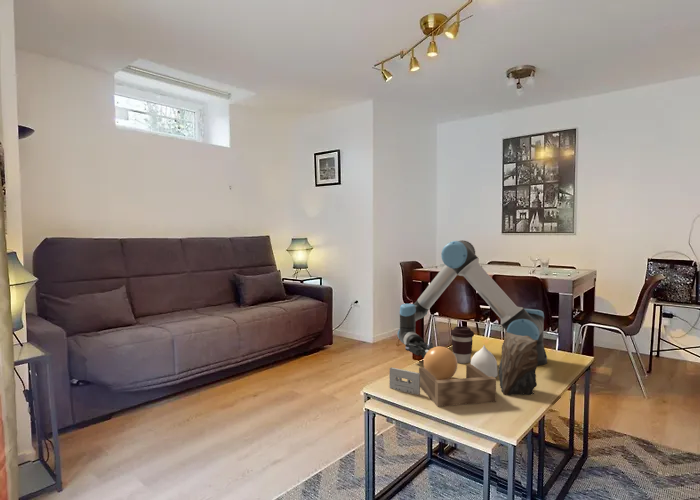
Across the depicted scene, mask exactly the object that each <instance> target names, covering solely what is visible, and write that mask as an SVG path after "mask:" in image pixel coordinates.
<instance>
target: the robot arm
mask: <svg viewBox="0 0 700 500" xmlns="http://www.w3.org/2000/svg"><path fill="white" fill-rule="evenodd" d="M440 257H441V261H442V262H443V264H444V265H443V266H442V268H441V269H440V270H439V272H438V273H437V274H436V275H435V277H434V278H433V279H432V280H431V282H430V283H429V284H428V285H427V286H426V288H425V290H424V291H423V292H422V293H421V294H420V296H419V297H418V298H417V300H416V301H415V302H414V303H402V304H401V305H400V306H399V329H398V331H397V338H398V339H399V341H400V342H401V343H402V344H404V345H405V351H407V352H410V353H412V354H414V355H415V356H419V357H420V356H421V358H423V359H424V357H425V355H426V353H427V352H428V351H429V350H430V349H431V348H434V343H433V342H430V343H427V342H425V340H424V339H423V337H421V336H420V335H419V334H417V333H416V322H417V321H418V320H420V319H423V318H425V317H426V316H427V314H428V312H429V310H430V309H431V308H432V306H433V305H435V302H436V301H438V299H439V298H440V297H441V295H442V294H443V293H444V292H445V291H446V289H447V288H448V287H449V286H450V285H451V283H452V282H453V281H454V280H455V278H456V277H457V276H460V277H463V278H464V279H466V281H467V282H468V283H469V284H470V285H471V286H472V288H473V289H474V290H475V291H476V292H477V293H478V295H479V296H480V297H481V299H483V300H484V301H485V303H486V304H487V305H488V306H489V308H490V309H491V310H492V311H493V312H494V313H495V314H496V316H498V317H499V319H500V325H501V327H502V328H503V329H504V330H505V331H506V332H508V333H512V334H515V335H521V336H530V337H531V338H532V339H534V340H538V343H537V352H538V365H537V366H542V365H543V366H544V365H546V364H548V356H547V353H546V350H545V347H544V328H545V327H544V326H545V325H544V324H545V323H544V320H545V314H544V311H542V310H540V309H533V308H524V307H522V306H517V305H516V304H515V303H514V301H513V300H512V299H511V297H509V296H508V295H507V293H506V292H505V291H504V290H503V289H502V288H501V287H500V286H499V285H498V283H497V282H496V281H495V280H494V279H493V278H492V277H491V275H489V274H488V273H487V271H486V270H485V269H484V268H483V266H481V264H480V263H479V260H480V259H479V256H477V255H476V249H475V247H474V245H473V244H472V243H471V242H469V241H468V240H452V241H450V242H447V244H445V245H444V246H443V248H442V249H441V256H440Z"/></svg>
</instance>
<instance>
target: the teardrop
mask: <svg viewBox="0 0 700 500" xmlns="http://www.w3.org/2000/svg"><path fill="white" fill-rule="evenodd" d="M470 364H472V365H473V366H474V367H476V368H477V369H479V370H480V371H482V372H483V373H484V374H486V375H487V376H489V377H491V376H493V377H494V378H497V377H499V373H498V362H497V359H496V357H495V356H494V354H493V353H492V352H491V351H490V350H488V349H487V348H486V346H485V344H483V346H482V347H481V348H480V349H479V350H477V351H476V352H475V353H474V354H473V355H472V356H471V360H470Z"/></svg>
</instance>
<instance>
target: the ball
mask: <svg viewBox="0 0 700 500" xmlns="http://www.w3.org/2000/svg"><path fill="white" fill-rule="evenodd" d="M423 367H424V368H425V369H427V370H428V371H429V372H430V373H431V374H432V375H433V376H434V377H435V378H436V379H437V380H448V379H452V377H453V376H454V375H455V374H456V372H457V370H458V363H457V359H456V356H455V355H454V353H453V350H451V349H449V348H448V347H446V346H441V345H440V346H439V345H438V346H433V348H431V349H430V350H429V351H428V352H427V353H426V355H425V357H424V358H423Z"/></svg>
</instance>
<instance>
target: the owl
mask: <svg viewBox="0 0 700 500" xmlns="http://www.w3.org/2000/svg"><path fill="white" fill-rule="evenodd" d="M504 336H505V337H504V340H503V343H502V345H501V359H500V362H499V366H498V368H497V372H498V378H499V387H500V389H501V393H502V394H503V396H522V395H523V396H524V395H528V396H529V395H531V394H532V395H535V392H534V389H535V388H536V387H537V374H536V371H537V367H538V366H539V365H538V352H537V343H538V340H534V339H532V338H531V337H530V336H521V335H515V334H512V333H508V332H507V331H506V332H505V333H504ZM533 392H534V393H533Z"/></svg>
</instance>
